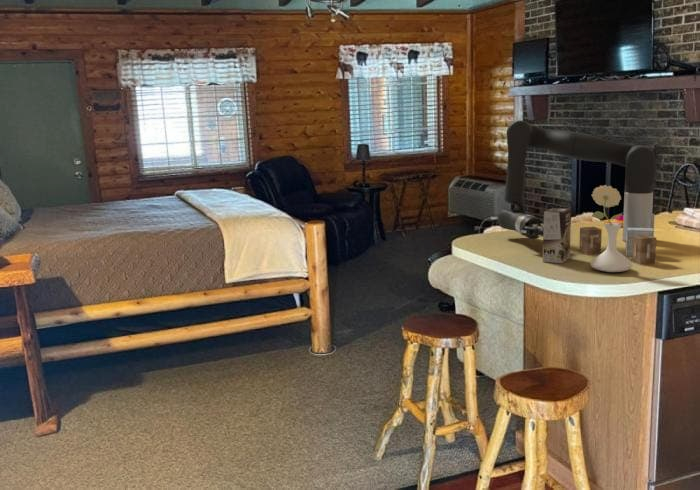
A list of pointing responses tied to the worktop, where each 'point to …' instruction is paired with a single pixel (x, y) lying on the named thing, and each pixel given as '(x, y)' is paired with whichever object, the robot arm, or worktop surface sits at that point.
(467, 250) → the worktop surface
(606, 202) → the flower in vase
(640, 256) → the walnut block one
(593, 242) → the walnut block seven
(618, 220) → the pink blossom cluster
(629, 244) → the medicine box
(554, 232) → the coffee box
